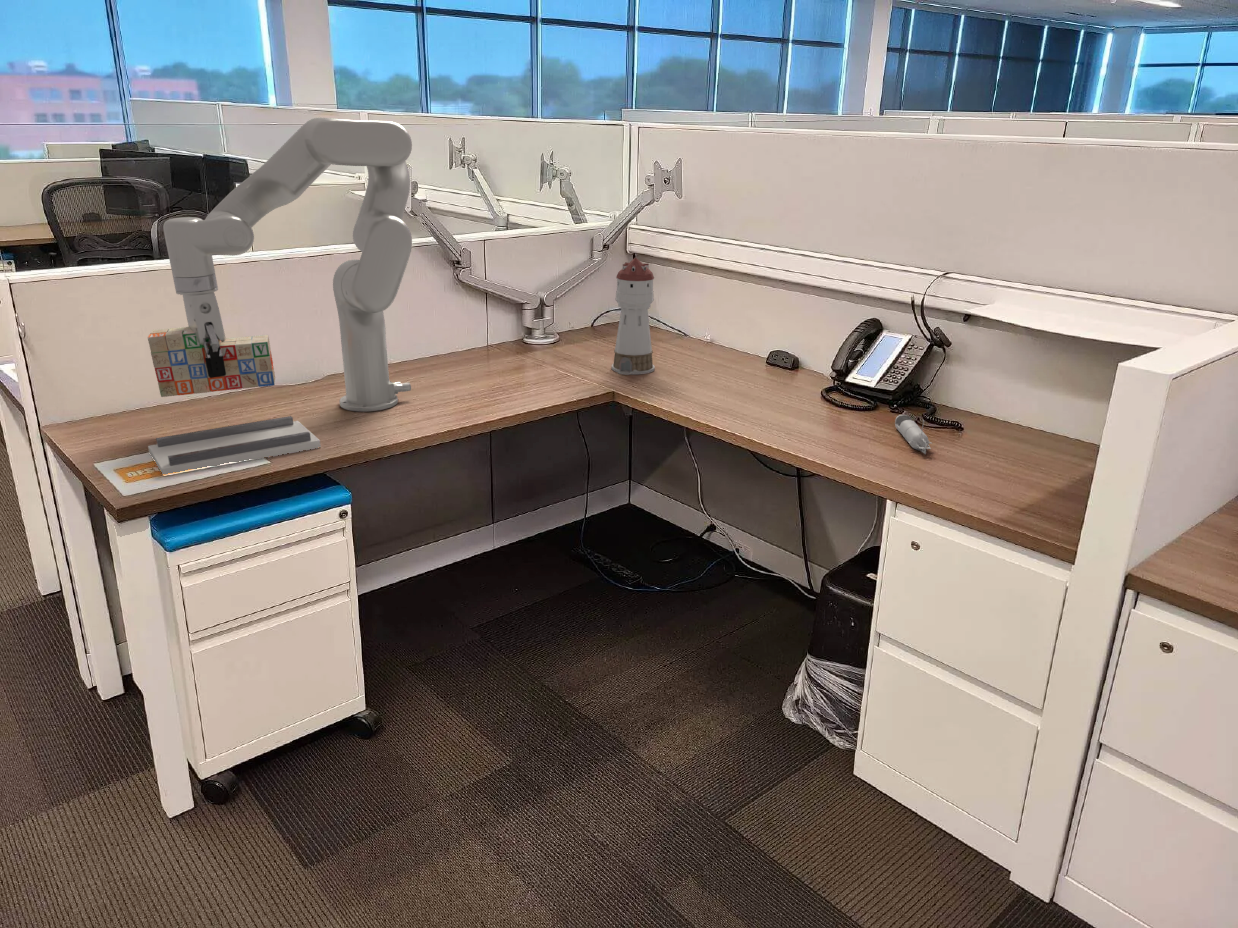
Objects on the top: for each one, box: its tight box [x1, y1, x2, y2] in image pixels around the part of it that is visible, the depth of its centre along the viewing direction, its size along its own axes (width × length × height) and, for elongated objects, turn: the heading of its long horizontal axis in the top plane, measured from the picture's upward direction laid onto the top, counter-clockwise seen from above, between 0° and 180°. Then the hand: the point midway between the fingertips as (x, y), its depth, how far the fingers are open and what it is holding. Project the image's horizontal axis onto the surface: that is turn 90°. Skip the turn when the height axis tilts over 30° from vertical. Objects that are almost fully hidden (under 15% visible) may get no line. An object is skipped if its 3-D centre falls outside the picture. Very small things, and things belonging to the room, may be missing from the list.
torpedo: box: [894, 414, 933, 455], centre depth 183 cm, size 18×5×6 cm, turn 179°
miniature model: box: [611, 253, 656, 376], centre depth 226 cm, size 11×12×30 cm
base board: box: [147, 415, 322, 475], centre depth 171 cm, size 28×14×3 cm, turn 125°
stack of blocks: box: [147, 326, 276, 398], centre depth 179 cm, size 21×6×12 cm, turn 108°
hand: (212, 371), depth 180 cm, fingers closed on stack of blocks, 7 cm apart
